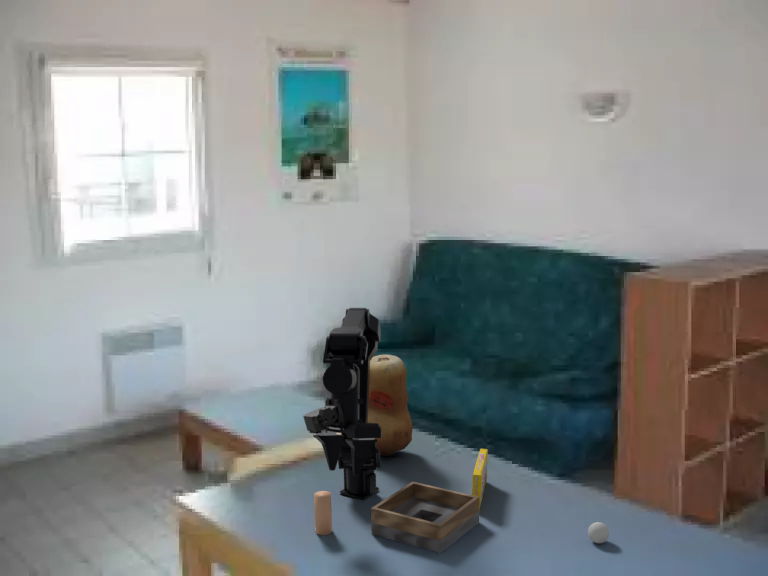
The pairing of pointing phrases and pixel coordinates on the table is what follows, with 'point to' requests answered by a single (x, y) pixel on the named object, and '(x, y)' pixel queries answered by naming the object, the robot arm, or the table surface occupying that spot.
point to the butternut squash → (389, 403)
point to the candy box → (480, 475)
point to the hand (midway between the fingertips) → (343, 472)
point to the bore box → (425, 516)
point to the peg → (323, 512)
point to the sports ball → (598, 532)
